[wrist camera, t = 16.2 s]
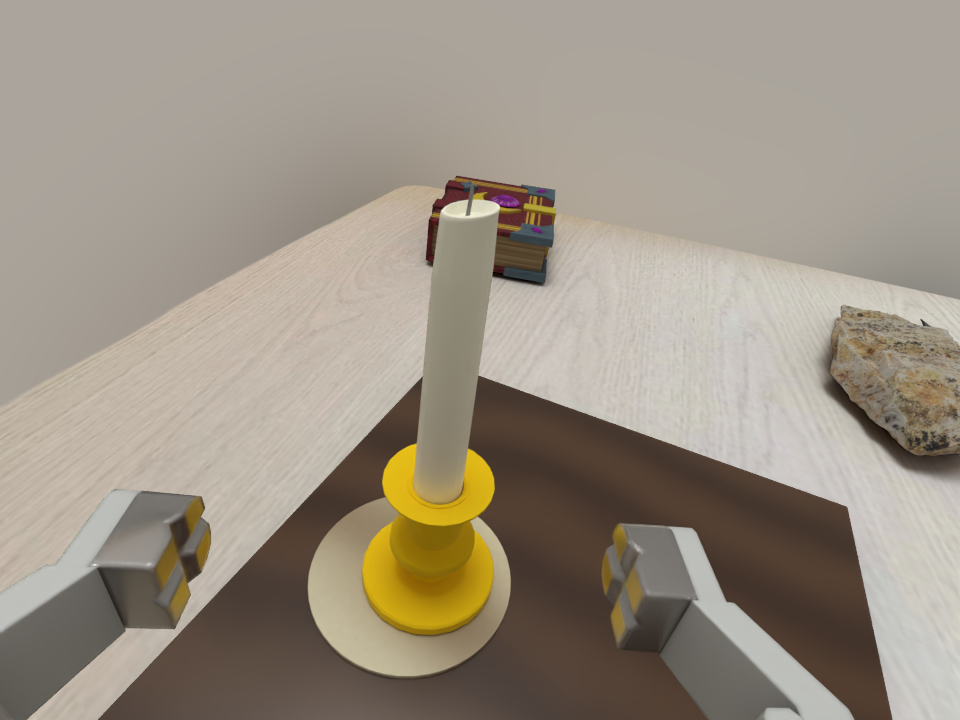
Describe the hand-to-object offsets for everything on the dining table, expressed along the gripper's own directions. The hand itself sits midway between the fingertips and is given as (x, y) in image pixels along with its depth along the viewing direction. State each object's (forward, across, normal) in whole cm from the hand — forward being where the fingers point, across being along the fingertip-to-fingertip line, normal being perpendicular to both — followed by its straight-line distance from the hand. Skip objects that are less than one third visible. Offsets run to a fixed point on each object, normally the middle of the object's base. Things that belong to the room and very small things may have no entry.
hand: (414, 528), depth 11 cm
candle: (+6, -1, +11) cm, 12 cm away
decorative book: (+46, -5, +12) cm, 47 cm away
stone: (+26, -35, +12) cm, 45 cm away
